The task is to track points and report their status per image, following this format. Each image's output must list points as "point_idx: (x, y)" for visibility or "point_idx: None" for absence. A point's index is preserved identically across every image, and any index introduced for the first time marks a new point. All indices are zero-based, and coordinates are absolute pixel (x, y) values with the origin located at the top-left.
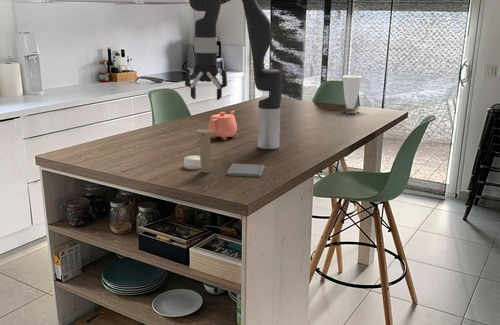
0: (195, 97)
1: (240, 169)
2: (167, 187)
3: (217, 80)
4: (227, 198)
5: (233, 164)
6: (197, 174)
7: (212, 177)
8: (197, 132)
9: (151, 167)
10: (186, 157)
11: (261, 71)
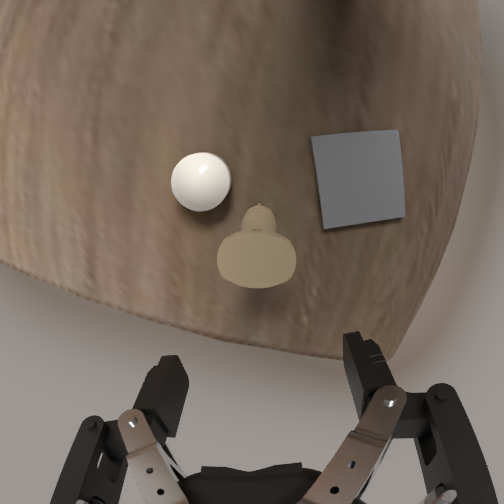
0: (178, 366)
1: (351, 189)
2: (230, 340)
3: (378, 463)
4: None
5: (317, 144)
6: None
7: None
8: (229, 279)
9: (115, 227)
10: (176, 185)
11: None
